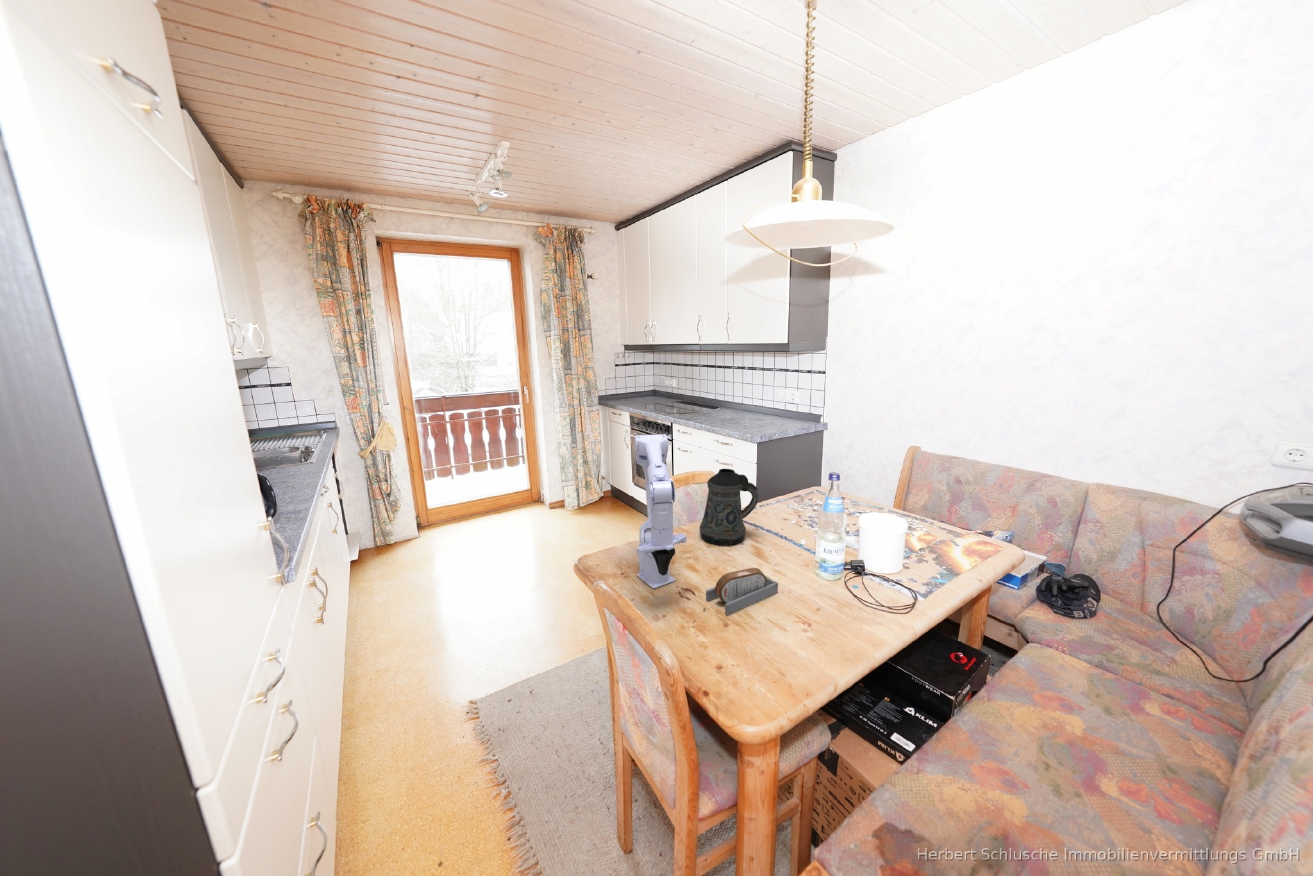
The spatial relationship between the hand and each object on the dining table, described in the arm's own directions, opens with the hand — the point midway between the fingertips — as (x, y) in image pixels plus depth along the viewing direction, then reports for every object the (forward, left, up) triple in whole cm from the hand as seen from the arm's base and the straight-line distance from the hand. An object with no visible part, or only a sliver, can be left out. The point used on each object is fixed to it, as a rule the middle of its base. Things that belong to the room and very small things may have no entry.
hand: (662, 573), depth 121 cm
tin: (+10, +19, -10) cm, 24 cm away
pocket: (+9, +20, -9) cm, 24 cm away
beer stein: (-23, +43, -10) cm, 50 cm away
